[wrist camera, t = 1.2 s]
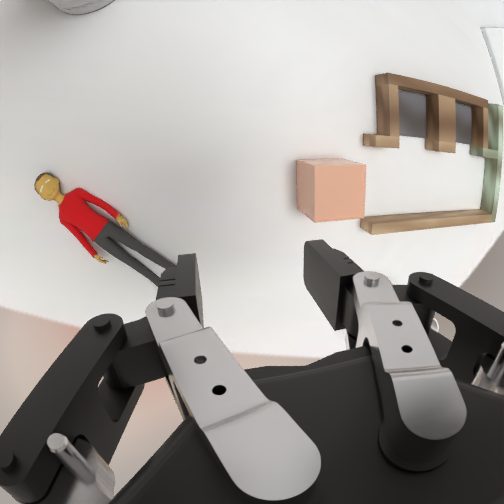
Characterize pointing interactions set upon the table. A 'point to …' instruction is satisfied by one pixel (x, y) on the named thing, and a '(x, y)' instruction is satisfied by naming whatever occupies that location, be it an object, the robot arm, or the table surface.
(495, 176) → the brown frame
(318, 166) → the clay block
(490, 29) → the external hard drive
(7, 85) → the table surface
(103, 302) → the table surface
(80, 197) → the person figure
